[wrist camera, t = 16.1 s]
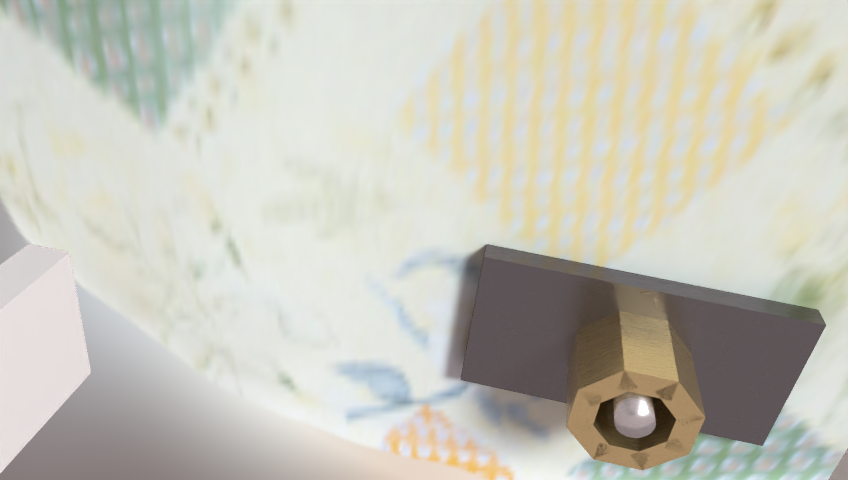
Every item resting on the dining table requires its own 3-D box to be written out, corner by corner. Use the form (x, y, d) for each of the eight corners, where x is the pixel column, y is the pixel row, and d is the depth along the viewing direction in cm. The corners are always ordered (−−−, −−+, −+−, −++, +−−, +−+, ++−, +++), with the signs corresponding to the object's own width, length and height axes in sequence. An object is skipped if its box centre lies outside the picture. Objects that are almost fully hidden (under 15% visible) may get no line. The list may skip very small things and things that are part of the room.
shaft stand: (463, 365, 49) (446, 445, 42) (486, 244, 43) (471, 314, 37) (757, 429, 47) (785, 523, 40) (818, 310, 41) (862, 396, 35)
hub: (560, 388, 46) (558, 451, 41) (585, 304, 42) (586, 362, 38) (667, 412, 45) (678, 478, 41) (702, 327, 42) (718, 390, 37)
